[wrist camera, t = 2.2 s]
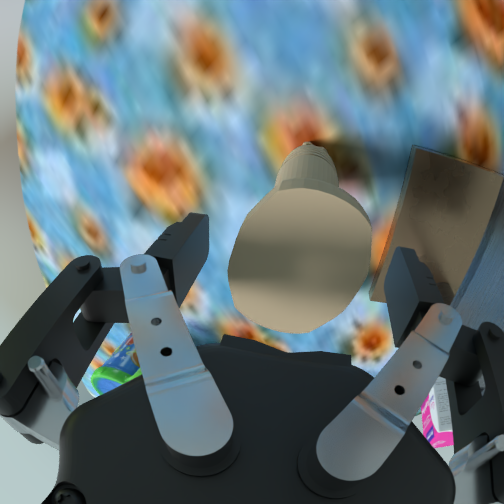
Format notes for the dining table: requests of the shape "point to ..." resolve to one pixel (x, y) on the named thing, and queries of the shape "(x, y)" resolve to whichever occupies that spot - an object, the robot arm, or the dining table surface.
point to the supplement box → (437, 416)
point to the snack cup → (117, 368)
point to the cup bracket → (452, 234)
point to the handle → (301, 248)
